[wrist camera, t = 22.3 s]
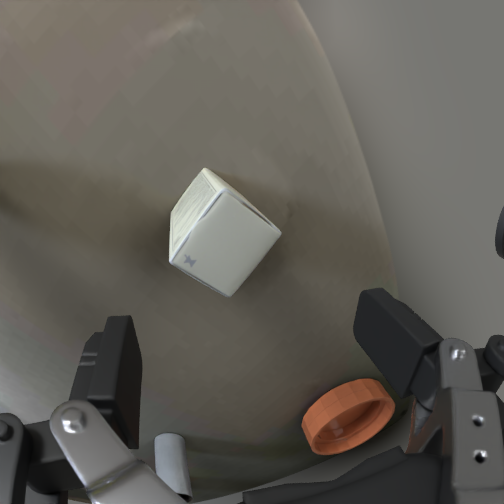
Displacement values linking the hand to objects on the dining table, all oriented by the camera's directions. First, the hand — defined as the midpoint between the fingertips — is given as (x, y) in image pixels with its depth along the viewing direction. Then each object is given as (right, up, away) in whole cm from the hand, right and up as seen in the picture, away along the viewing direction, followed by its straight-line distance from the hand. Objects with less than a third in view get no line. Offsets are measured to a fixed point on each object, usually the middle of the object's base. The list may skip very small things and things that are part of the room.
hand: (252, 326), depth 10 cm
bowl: (+14, -22, +33) cm, 42 cm away
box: (-4, +7, +16) cm, 18 cm away
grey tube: (-12, -25, +28) cm, 39 cm away
